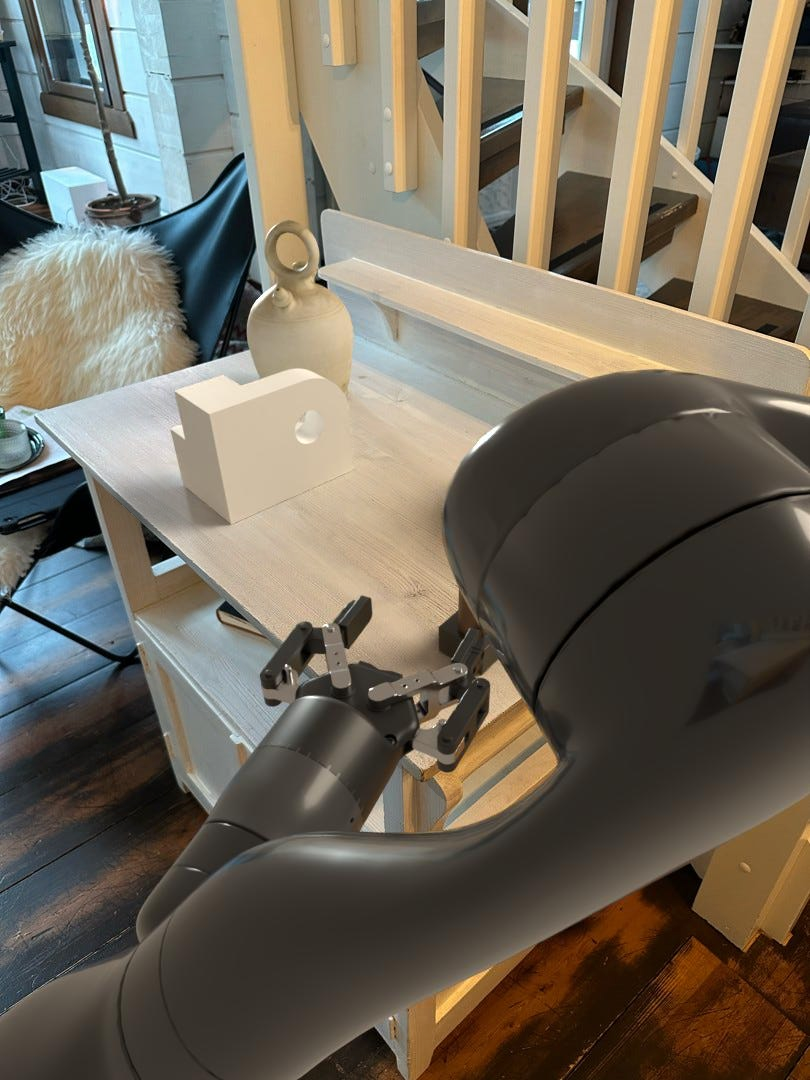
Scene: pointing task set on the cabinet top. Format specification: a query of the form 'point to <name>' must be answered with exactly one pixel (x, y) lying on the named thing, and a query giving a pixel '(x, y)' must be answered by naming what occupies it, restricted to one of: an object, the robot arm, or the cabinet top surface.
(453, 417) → the cabinet top surface
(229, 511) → the tape dispenser
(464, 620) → the brown cylinder
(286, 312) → the jug
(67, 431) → the cabinet top surface
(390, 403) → the cabinet top surface
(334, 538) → the cabinet top surface
